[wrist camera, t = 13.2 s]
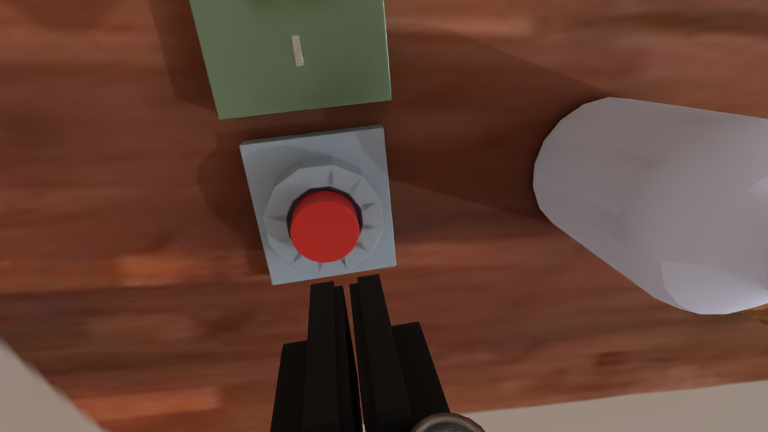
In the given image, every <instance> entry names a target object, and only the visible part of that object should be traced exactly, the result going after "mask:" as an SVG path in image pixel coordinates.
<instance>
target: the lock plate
mask: <svg viewBox="0 0 768 432" xmlns="http://www.w3.org/2000/svg"><path fill="white" fill-rule="evenodd" d="M189 4H190V8H191V11H192V15H193V19H194V23H195V27H196V31H197V35H198V39H199V43H200V47H201V51H202V55H203V59H204V63H205V67H206V71H207V75H208V79H209V83H210V87H211V91H212V95H213V99H214V103H215V107H216V111H217V115H218V118H219V120H226V119H234V118H243V117H252V116H260V115H269V114H277V113H286V112H295V111H303V110H312V109H321V108H329V107H338V106H347V105H355V104H364V103H373V102H381V101H390V100H392V90H391V78H390V66H389V54H388V42H387V30H386V18H385V6H384V0H189Z"/></svg>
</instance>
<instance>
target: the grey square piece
mask: <svg viewBox="0 0 768 432" xmlns="http://www.w3.org/2000/svg"><path fill="white" fill-rule="evenodd" d="M239 147H240V152H241V156H242V160H243V164H244V168H245V173H246V177H247V181H248V185H249V189H250V194H251V198H252V202H253V206H254V210H255V215H256V219H257V223H258V227H259V231H260V235H261V240H262V244H263V248H264V252H265V256H266V261H267V265H268V269H269V273H270V277H271V282H272V285H278V284H284V283H290V282H297V281H303V280H309V279H316V278H322V277H329V276H335V275H341V274H348V273H354V272H360V271H367V270H373V269H379V268H386V267H392V266H396V254H395V244H394V233H393V222H392V212H391V201H390V190H389V180H388V169H387V158H386V148H385V137H384V128H383V127H382V126H381V125H380V124H379V125H370V126H362V127H354V128H346V129H337V130H329V131H321V132H313V133H305V134H296V135H288V136H280V137H272V138H263V139H255V140H247V141H243V142H242V143H241V144H240V145H239ZM322 190H328V191H334V192H337V193H339V194H341V195H343V196H345V197H346V198H347V199H348V200H349V201H350V202H351V203H352V205H353V206H354V208H355V211H356V214H357V219H358V224H359V238H358V241H357V244H356V245H355V247H354V248H353V250H352V251H351V252H350V253H349V254H348V255H347V256H345V257H343V258H342V259H340V260H337V261H334V262H328V263H321V262H315V261H312V260H309V259H307V258H306V257H304V256H303V255H301V254H300V253H299V252H298V251H297V249H296V248H295V247H294V245H293V243H292V240H291V235H290V228H291V222H292V216H293V212H294V209H295V207H296V205H297V204H298V203H299V201H300V200H301V199H303V198H304V197H305V196H307V195H308V194H310V193H313V192H316V191H322Z"/></svg>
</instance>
